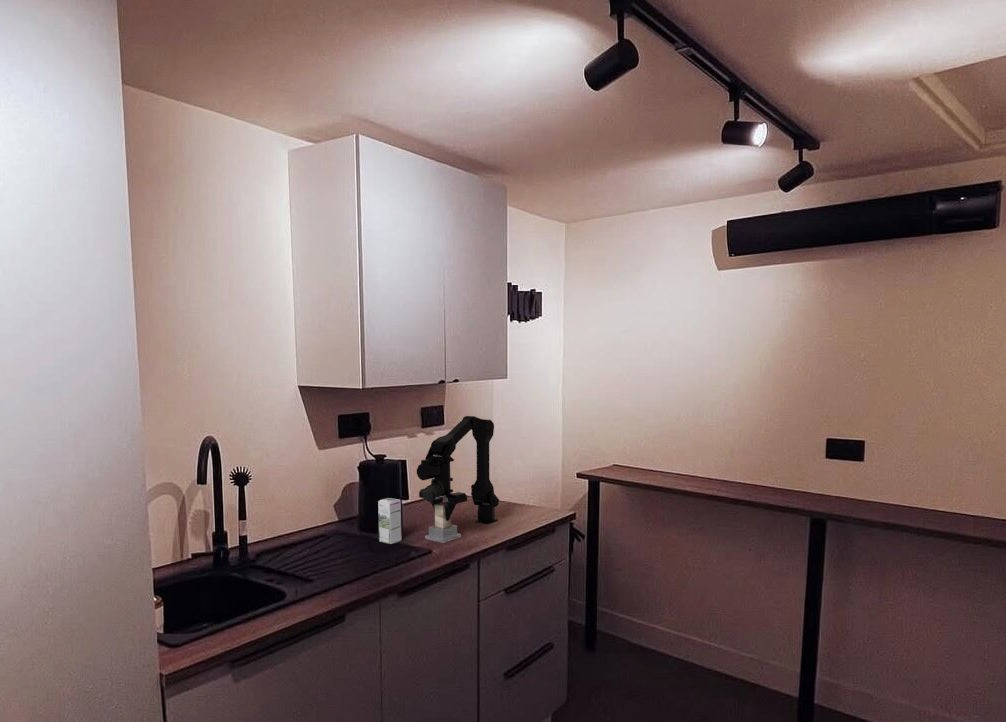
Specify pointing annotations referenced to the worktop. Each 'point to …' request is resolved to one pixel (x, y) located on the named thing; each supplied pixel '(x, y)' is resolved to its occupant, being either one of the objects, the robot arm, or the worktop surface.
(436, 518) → the beige rectangular block
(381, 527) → the syrup box
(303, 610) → the worktop surface
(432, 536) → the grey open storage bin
